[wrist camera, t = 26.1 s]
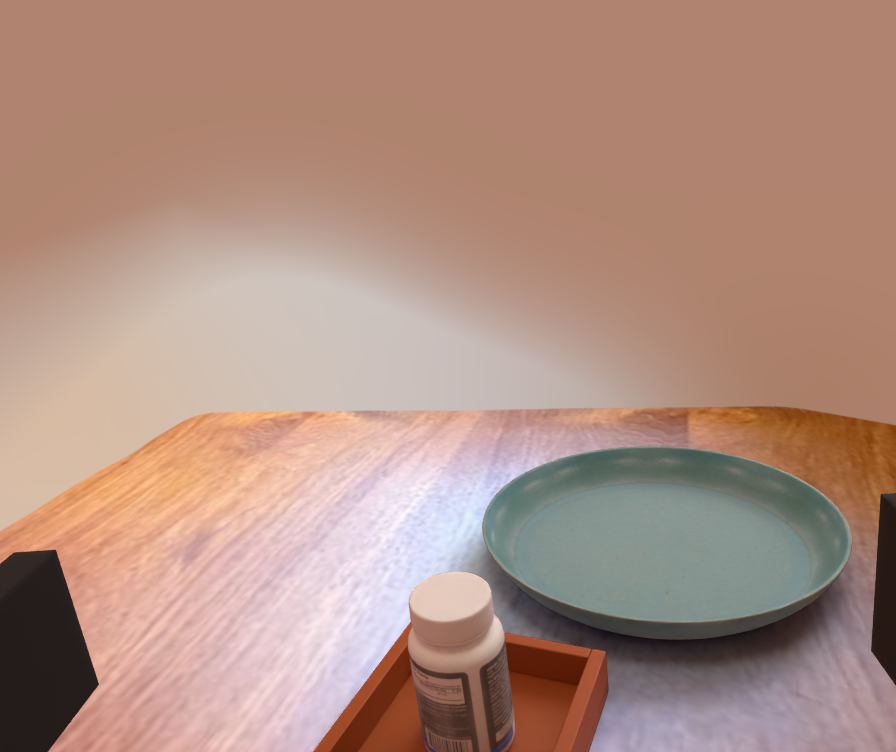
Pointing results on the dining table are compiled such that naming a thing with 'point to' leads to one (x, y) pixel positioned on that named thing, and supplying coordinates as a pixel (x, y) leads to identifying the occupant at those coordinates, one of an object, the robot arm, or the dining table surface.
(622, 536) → the saucer
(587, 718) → the burnt orange tray
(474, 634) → the pill bottle
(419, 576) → the dining table surface
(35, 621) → the robot arm
